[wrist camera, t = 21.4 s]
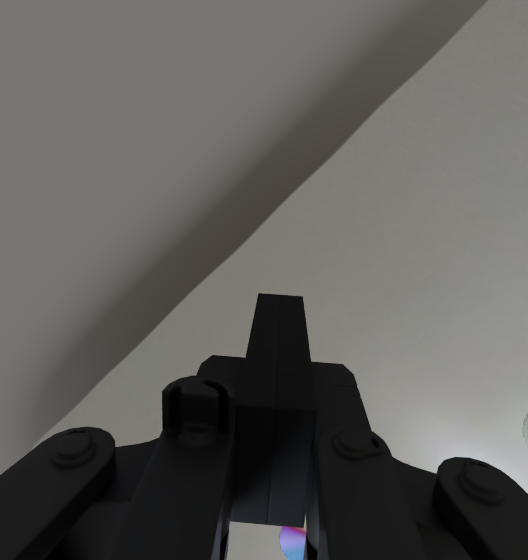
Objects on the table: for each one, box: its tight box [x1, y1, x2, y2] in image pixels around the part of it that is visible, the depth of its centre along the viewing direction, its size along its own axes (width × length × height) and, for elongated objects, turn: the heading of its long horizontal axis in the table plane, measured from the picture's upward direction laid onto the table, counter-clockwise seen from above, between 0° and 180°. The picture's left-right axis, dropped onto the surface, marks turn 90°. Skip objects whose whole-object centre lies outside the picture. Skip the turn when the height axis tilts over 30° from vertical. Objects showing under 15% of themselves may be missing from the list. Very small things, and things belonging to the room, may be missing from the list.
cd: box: [279, 514, 306, 560], centre depth 53 cm, size 11×11×1 cm
